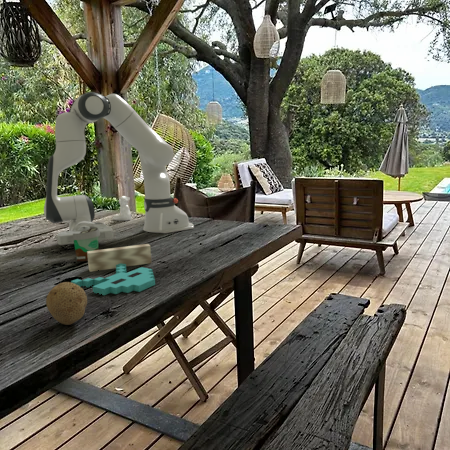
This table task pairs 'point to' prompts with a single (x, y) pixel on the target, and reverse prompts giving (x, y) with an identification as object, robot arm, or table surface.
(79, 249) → the food container
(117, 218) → the sitting furry creature
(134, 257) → the birch board
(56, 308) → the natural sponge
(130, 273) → the alien figure
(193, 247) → the table surface
